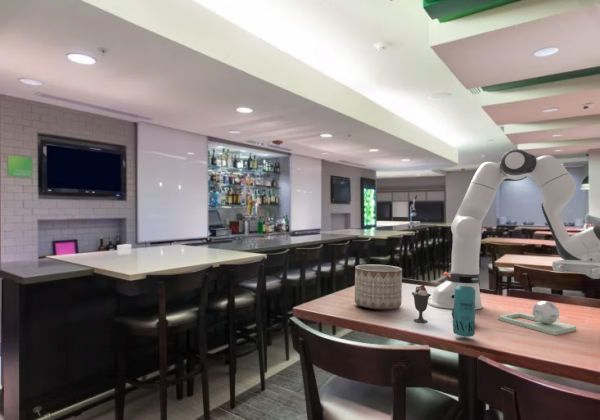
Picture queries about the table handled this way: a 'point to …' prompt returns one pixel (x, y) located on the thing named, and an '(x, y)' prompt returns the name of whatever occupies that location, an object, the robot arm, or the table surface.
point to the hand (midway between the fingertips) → (574, 270)
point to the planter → (378, 286)
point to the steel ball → (545, 312)
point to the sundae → (421, 301)
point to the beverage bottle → (464, 308)
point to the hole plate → (538, 324)
